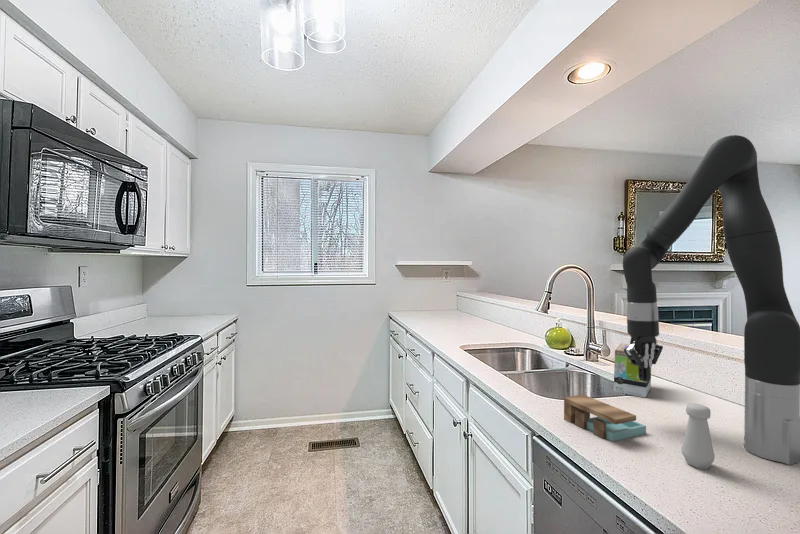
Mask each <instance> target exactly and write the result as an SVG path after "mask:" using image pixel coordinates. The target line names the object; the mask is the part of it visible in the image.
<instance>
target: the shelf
mask: <svg viewBox="0 0 800 534" xmlns="http://www.w3.org/2000/svg"><path fill="white" fill-rule="evenodd" d="M591 415H594V417H600V418H602V419H604V420H606V421H609V422H611V423H613V424H621V423H626V422H630V421H635V422H636V421H637V415H636V414H633V413H630V412H629V411H626V410H624V409H620V408H618V407H616V406H614V405H610V404H608V403H605V402H603V401H601V400H597V399H596V398H593V397H590V396H588V395H585V394H579V395H578V394H577V395H576V394H575V395H571V396H564V397H563V420H565V421H566V422H569V423H570V424H572V423H574V426H577V427H578V428H580V429H583V430H588V429H587V419H588V418H591ZM592 433H593V435H595V436H597V437H598V438H601V439H602V440H604V439H606V422H604V421H602V420H600V419H597V418H594V419H593V432H592Z"/></svg>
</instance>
